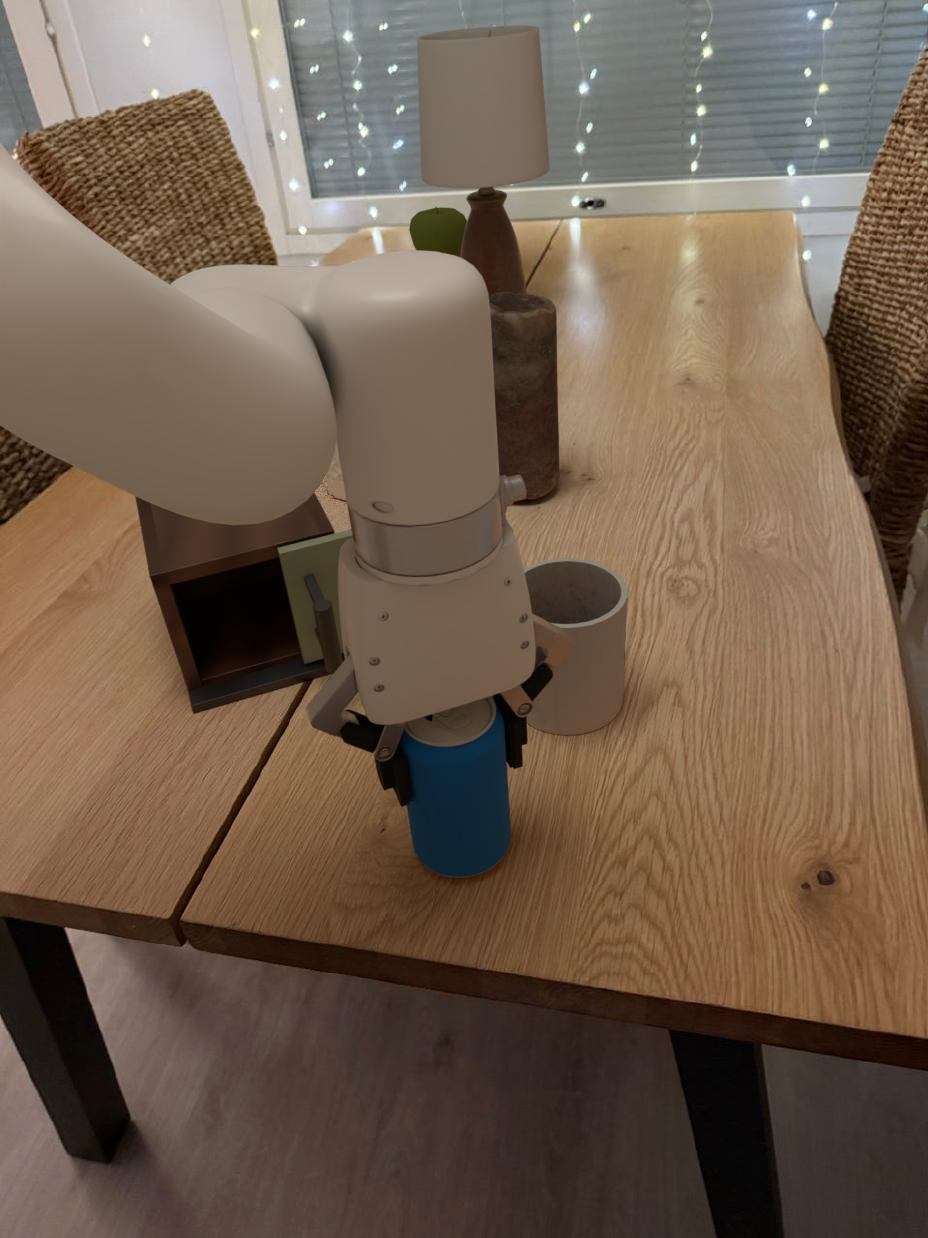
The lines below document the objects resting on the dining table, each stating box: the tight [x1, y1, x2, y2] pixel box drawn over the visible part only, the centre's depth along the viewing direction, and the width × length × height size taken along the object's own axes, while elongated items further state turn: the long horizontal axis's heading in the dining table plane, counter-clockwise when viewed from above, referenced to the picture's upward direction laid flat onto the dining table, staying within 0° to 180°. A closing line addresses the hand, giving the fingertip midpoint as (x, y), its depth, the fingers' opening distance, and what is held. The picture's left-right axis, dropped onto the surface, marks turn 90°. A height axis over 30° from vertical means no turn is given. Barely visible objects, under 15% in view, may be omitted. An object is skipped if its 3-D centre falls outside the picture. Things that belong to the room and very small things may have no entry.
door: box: [277, 529, 353, 674], centre depth 72 cm, size 13×6×11 cm, turn 111°
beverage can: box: [399, 695, 512, 878], centre depth 57 cm, size 6×6×12 cm
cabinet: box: [134, 491, 345, 714], centre depth 78 cm, size 22×16×12 cm
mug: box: [523, 557, 629, 736], centre depth 70 cm, size 12×9×10 cm
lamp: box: [416, 24, 550, 296], centre depth 135 cm, size 19×19×37 cm
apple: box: [408, 206, 468, 257], centre depth 164 cm, size 11×10×10 cm
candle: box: [489, 292, 560, 500], centre depth 92 cm, size 8×7×20 cm
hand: (454, 769), depth 56 cm, fingers closed on beverage can, 6 cm apart
